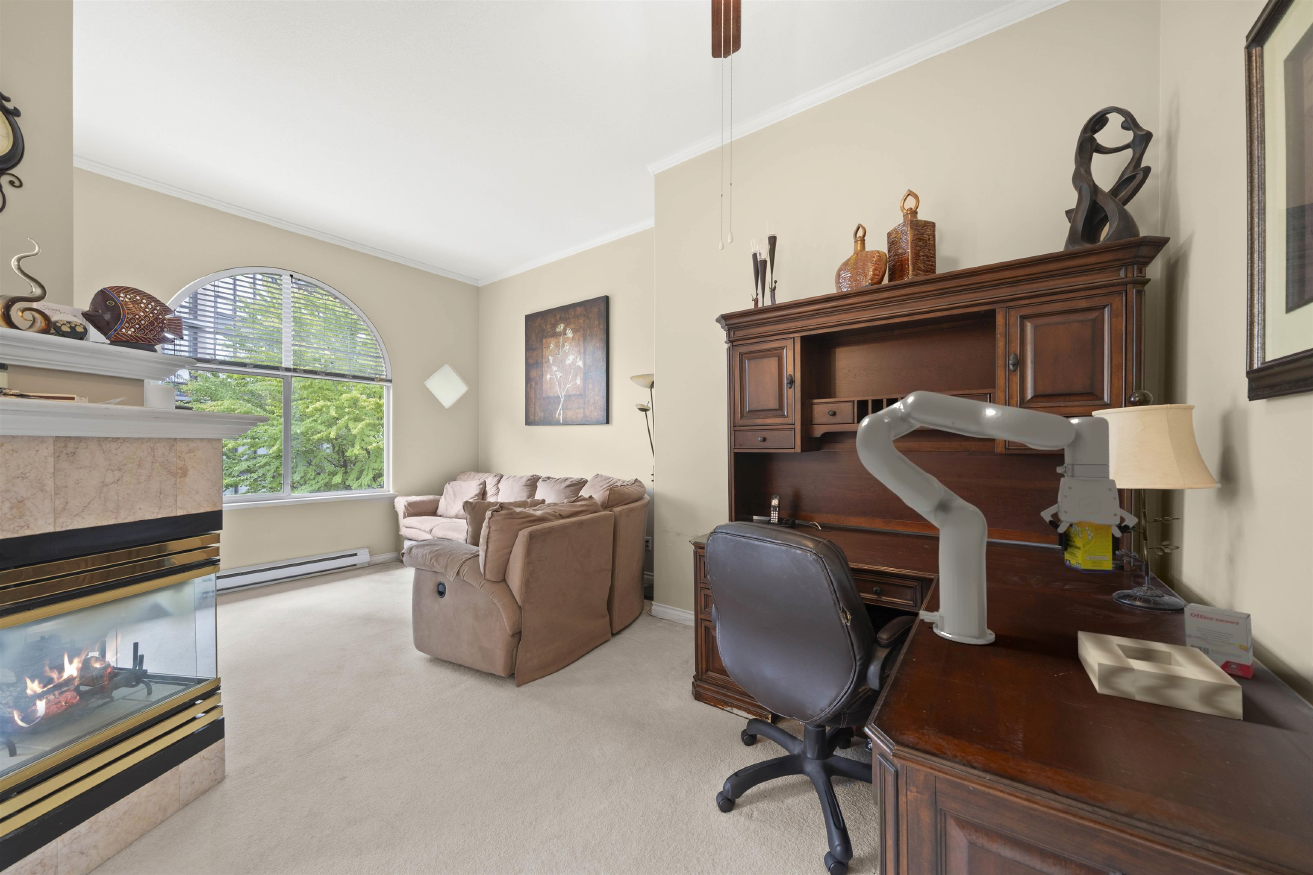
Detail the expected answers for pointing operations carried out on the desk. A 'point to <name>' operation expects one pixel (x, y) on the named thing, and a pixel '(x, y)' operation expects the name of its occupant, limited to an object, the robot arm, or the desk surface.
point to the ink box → (1221, 637)
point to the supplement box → (1089, 547)
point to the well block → (1159, 674)
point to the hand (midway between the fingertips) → (1087, 551)
